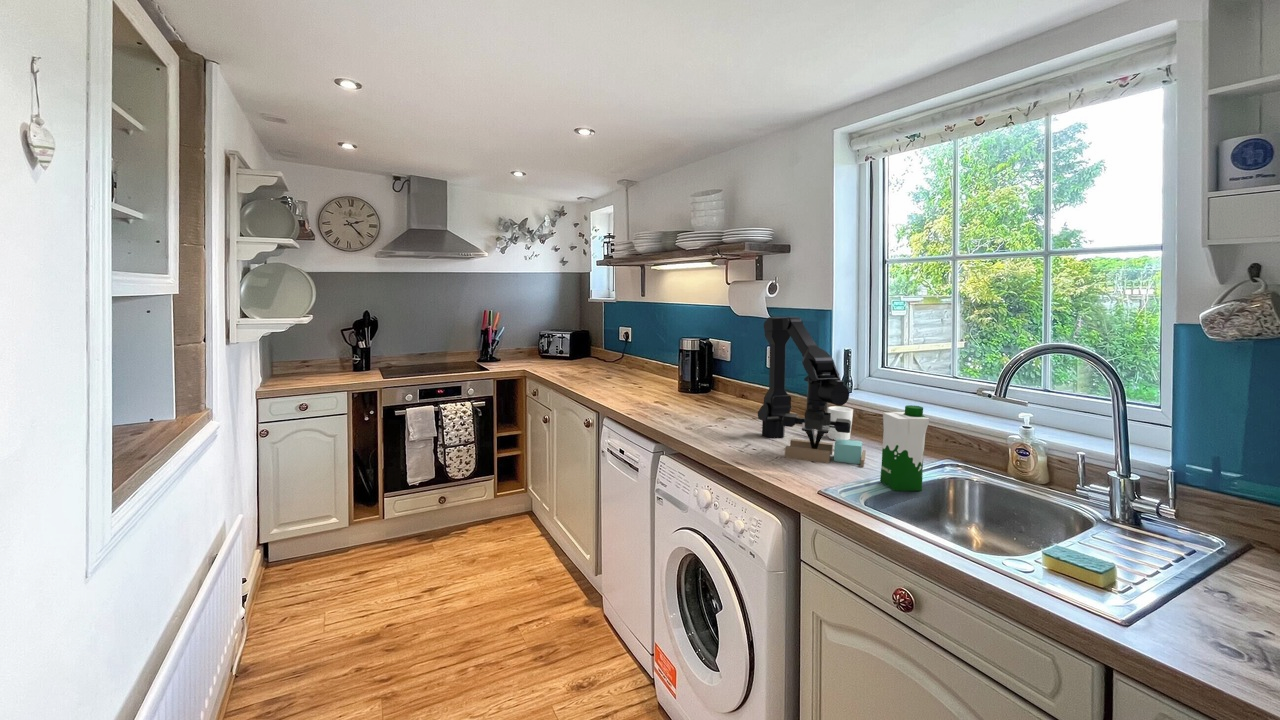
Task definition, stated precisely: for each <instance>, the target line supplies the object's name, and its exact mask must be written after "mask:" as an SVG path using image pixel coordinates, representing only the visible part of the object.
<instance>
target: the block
mask: <svg viewBox="0 0 1280 720" xmlns="http://www.w3.org/2000/svg"><path fill="white" fill-rule="evenodd" d="M834 441H835V442H834V446H833V462H840V463H849V464H856V465H861V457H862V451H863V441H861V440H851V439H849V440H844V439H836V440H834Z"/></svg>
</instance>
